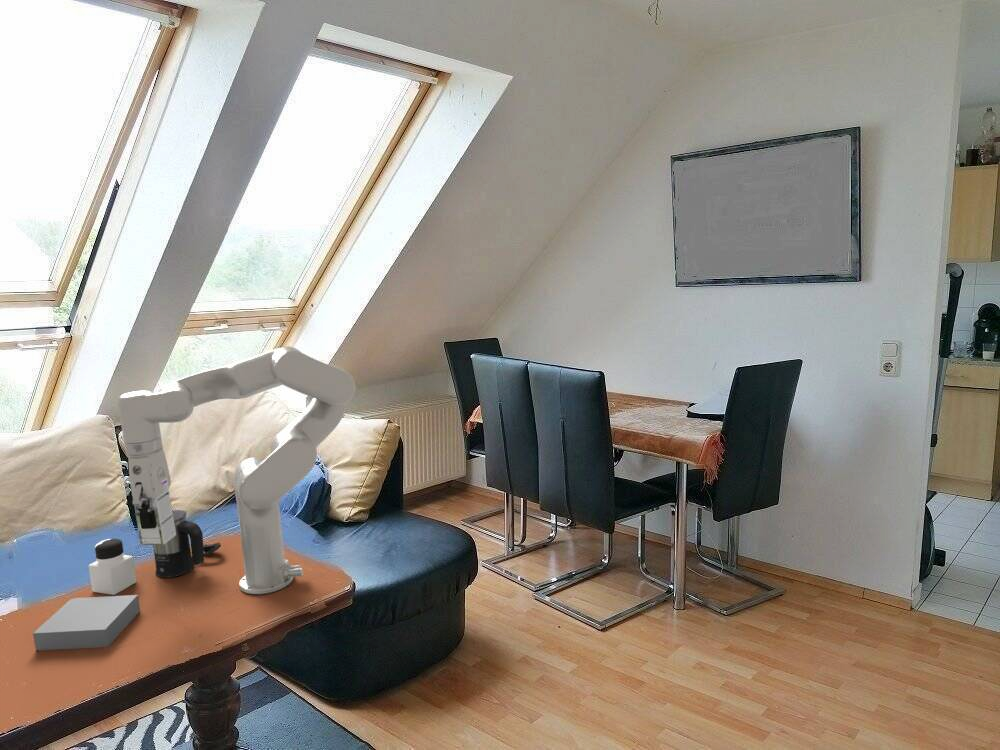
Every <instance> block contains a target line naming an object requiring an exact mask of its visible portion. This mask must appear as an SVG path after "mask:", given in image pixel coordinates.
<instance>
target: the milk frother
mask: <svg viewBox="0 0 1000 750" xmlns="http://www.w3.org/2000/svg"><path fill="white" fill-rule="evenodd" d="M172 513H173V519H174V525H175V531H176V536H174V537H173V538H172V539H171V540H170V541H168V542H167V543H165V544H164V545H152V547H153V548H152V549H153V553H154V563H155V576H157V577H160V578H173V577H177V576H182V575H184V574H186V573H188V572H190V571H192V570H193V569H194V567H195V566H199V565H200V564H202V563H203V562H204V561H205V558H206V557H208V556H209V555H211V554H213V553H216V551H218V550H219V549H220V548H221V546H222V545H221V543H220V542H215V543H212V544H207V543H206V544H204V535H203V531H202V528H201V527H200V526H199V525H198V524H197V523H196V522H194V521H189V520H187V515H188V513H187V511H186V510H181V509H172Z"/></svg>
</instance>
